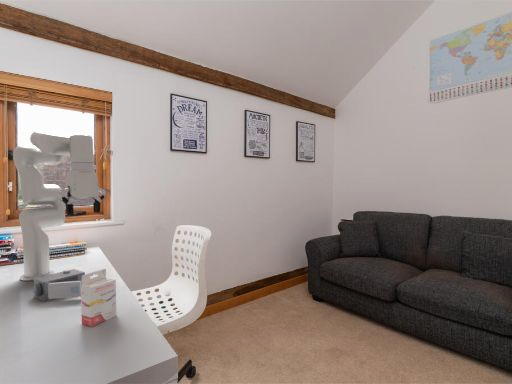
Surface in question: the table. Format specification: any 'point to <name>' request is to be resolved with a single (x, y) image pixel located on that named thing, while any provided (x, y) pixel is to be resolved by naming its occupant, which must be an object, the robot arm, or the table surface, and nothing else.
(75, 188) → the robot arm
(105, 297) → the ink cartridge box
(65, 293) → the side door
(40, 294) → the grey knobbed panel
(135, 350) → the table surface
